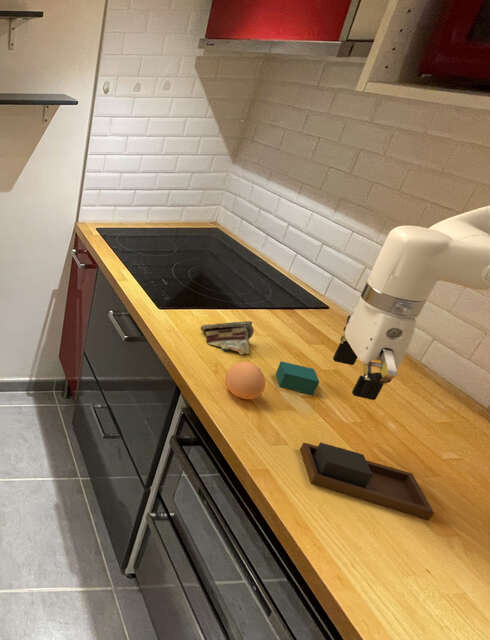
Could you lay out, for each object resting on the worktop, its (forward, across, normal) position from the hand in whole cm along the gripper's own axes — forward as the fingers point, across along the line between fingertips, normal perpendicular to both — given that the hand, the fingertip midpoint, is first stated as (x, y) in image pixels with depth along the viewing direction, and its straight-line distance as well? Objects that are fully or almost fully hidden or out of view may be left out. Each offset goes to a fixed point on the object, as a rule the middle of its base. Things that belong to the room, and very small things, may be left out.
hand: (352, 378), depth 81 cm
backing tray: (+16, -8, -4) cm, 18 cm away
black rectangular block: (+16, -8, 0) cm, 17 cm away
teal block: (+16, +17, +1) cm, 24 cm away
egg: (+16, +9, +13) cm, 23 cm away
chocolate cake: (+16, +28, +14) cm, 35 cm away
